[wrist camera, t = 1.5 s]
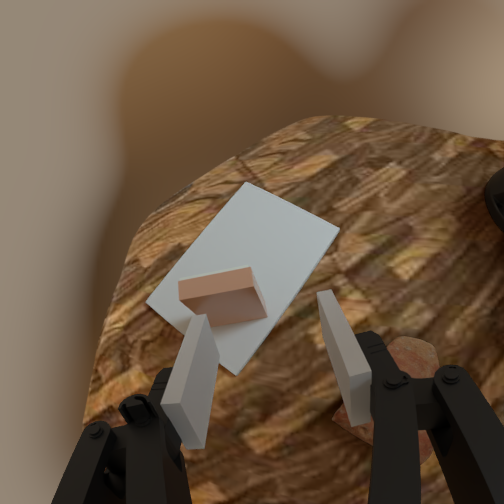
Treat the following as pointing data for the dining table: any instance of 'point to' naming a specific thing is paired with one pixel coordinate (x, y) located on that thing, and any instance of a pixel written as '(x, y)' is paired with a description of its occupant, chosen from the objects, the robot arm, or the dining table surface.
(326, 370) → the dining table surface
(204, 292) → the terracotta tile
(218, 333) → the grey mat
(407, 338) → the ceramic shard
